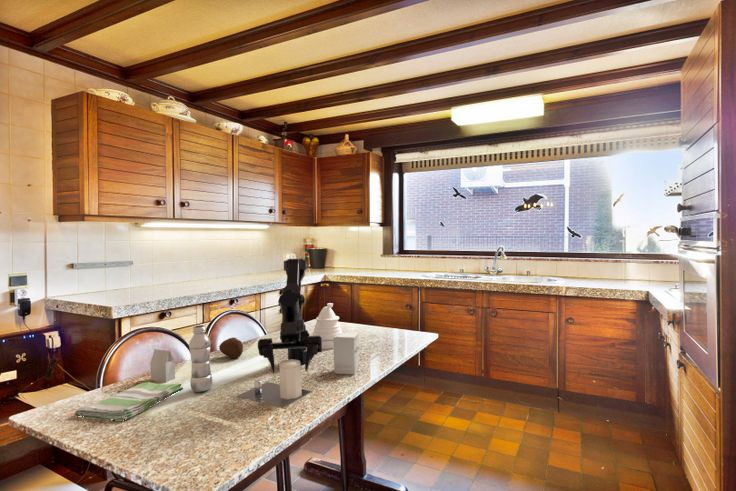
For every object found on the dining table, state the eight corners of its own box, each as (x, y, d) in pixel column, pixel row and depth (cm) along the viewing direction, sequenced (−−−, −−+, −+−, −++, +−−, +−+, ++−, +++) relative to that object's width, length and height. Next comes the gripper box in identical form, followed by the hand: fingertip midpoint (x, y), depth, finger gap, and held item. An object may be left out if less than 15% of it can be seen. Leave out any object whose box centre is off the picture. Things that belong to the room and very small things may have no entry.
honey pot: (348, 343, 179) (347, 302, 178) (330, 350, 168) (329, 306, 167) (325, 339, 186) (324, 300, 185) (306, 346, 175) (305, 304, 174)
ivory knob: (276, 396, 119) (274, 364, 118) (289, 389, 124) (288, 358, 123) (292, 400, 116) (291, 367, 115) (305, 393, 121) (304, 361, 120)
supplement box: (354, 374, 138) (353, 337, 137) (333, 374, 139) (332, 337, 139) (359, 367, 145) (358, 332, 145) (339, 367, 146) (338, 331, 146)
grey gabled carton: (166, 382, 136) (165, 352, 135) (151, 380, 138) (149, 350, 138) (175, 378, 139) (173, 349, 139) (160, 376, 142) (159, 347, 141)
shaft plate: (235, 399, 120) (235, 384, 120) (267, 384, 131) (267, 371, 131) (282, 410, 111) (282, 395, 111) (312, 393, 122) (312, 379, 122)
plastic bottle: (191, 396, 123) (188, 329, 122) (189, 389, 129) (187, 325, 128) (214, 392, 126) (211, 327, 125) (211, 385, 132) (209, 323, 131)
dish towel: (72, 419, 110) (71, 406, 110) (138, 388, 133) (138, 377, 133) (125, 424, 106) (124, 411, 106) (184, 391, 129) (184, 380, 129)
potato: (236, 361, 157) (236, 340, 157) (215, 359, 160) (215, 339, 160) (248, 355, 164) (247, 336, 163) (228, 354, 167) (227, 334, 167)
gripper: (257, 312, 122) (252, 360, 111) (320, 309, 124) (322, 355, 114) (261, 332, 130) (258, 378, 119) (321, 329, 132) (322, 374, 122)
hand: (289, 371), depth 118 cm, fingers open, 9 cm apart
